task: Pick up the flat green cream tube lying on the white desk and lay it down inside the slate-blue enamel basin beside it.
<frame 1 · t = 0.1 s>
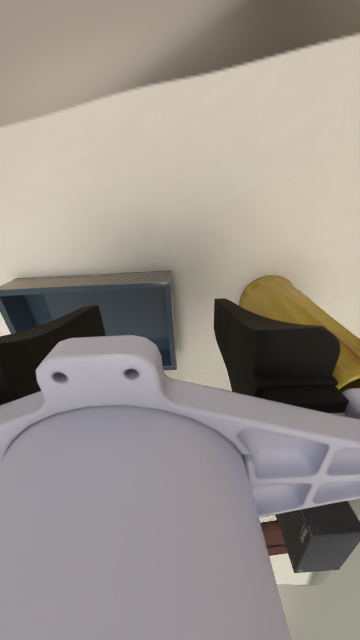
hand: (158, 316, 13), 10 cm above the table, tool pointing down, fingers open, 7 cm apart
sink: (103, 318, 25), on the table
vase: (265, 301, 24), on the table
small box: (285, 460, 39), on the table
notebook: (245, 537, 55), on the table
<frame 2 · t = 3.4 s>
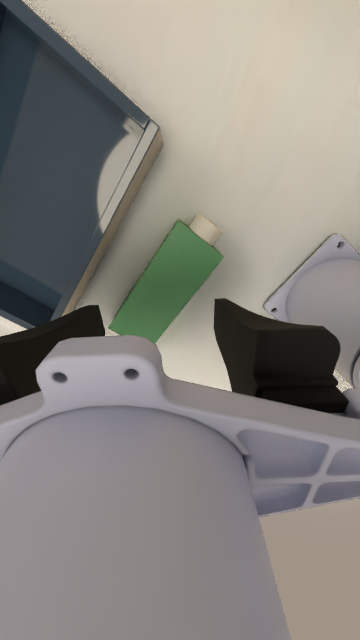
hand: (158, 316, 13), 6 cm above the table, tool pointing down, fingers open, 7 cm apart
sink: (45, 205, 16), on the table
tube: (163, 284, 19), on the table
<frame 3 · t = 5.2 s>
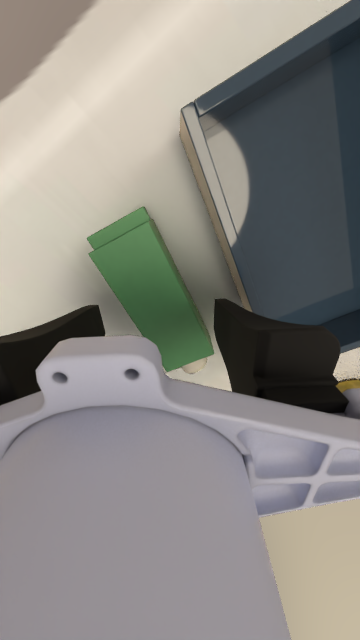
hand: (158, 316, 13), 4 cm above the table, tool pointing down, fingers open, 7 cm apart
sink: (298, 232, 15), on the table
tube: (161, 295, 17), on the table
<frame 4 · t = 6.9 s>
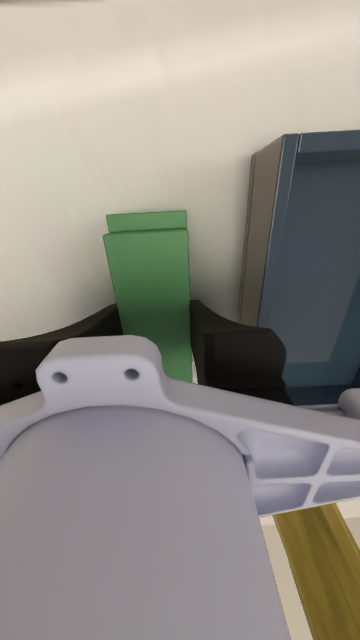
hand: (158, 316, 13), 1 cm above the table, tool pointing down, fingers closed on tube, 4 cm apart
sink: (314, 299, 15), on the table
vase: (280, 455, 23), on the table
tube: (159, 307, 15), on the table, touching gripper
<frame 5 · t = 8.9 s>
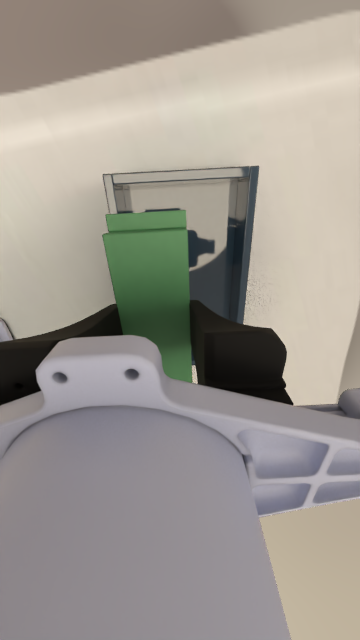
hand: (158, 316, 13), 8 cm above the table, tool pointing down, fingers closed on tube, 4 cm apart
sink: (183, 276, 21), on the table
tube: (158, 306, 15), point 7 cm above the table, touching gripper
when the fingers open (2 cm above the table, at t = 11.2 s): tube stays where it is, resting on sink.
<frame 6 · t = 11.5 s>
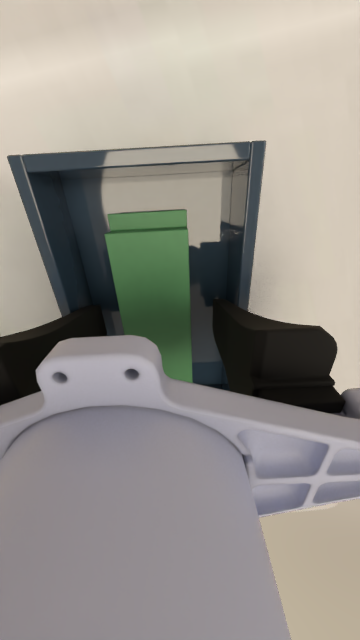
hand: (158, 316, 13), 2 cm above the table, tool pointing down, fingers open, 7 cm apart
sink: (160, 302, 15), on the table
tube: (159, 305, 15), point 1 cm above the table, touching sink
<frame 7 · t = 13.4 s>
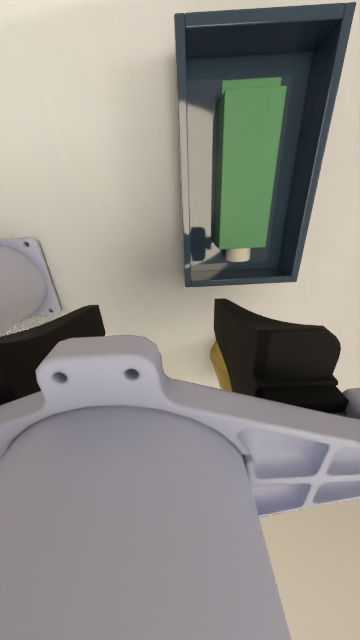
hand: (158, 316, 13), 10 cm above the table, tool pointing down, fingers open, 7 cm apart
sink: (237, 183, 19), on the table
vase: (233, 351, 28), on the table
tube: (239, 182, 18), point 1 cm above the table, touching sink
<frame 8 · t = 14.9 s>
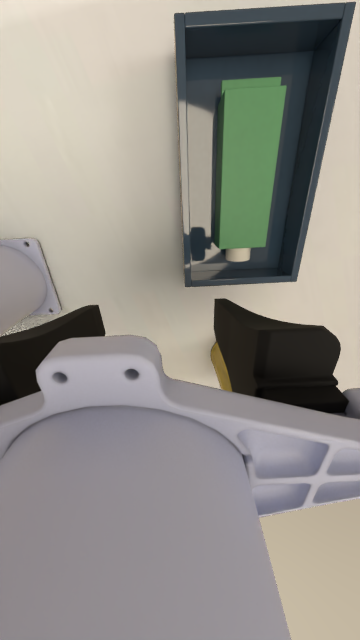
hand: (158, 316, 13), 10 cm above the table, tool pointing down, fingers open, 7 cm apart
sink: (237, 183, 19), on the table
vase: (233, 351, 28), on the table
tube: (239, 182, 18), point 1 cm above the table, touching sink
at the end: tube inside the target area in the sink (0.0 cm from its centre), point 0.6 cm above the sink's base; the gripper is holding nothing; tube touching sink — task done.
